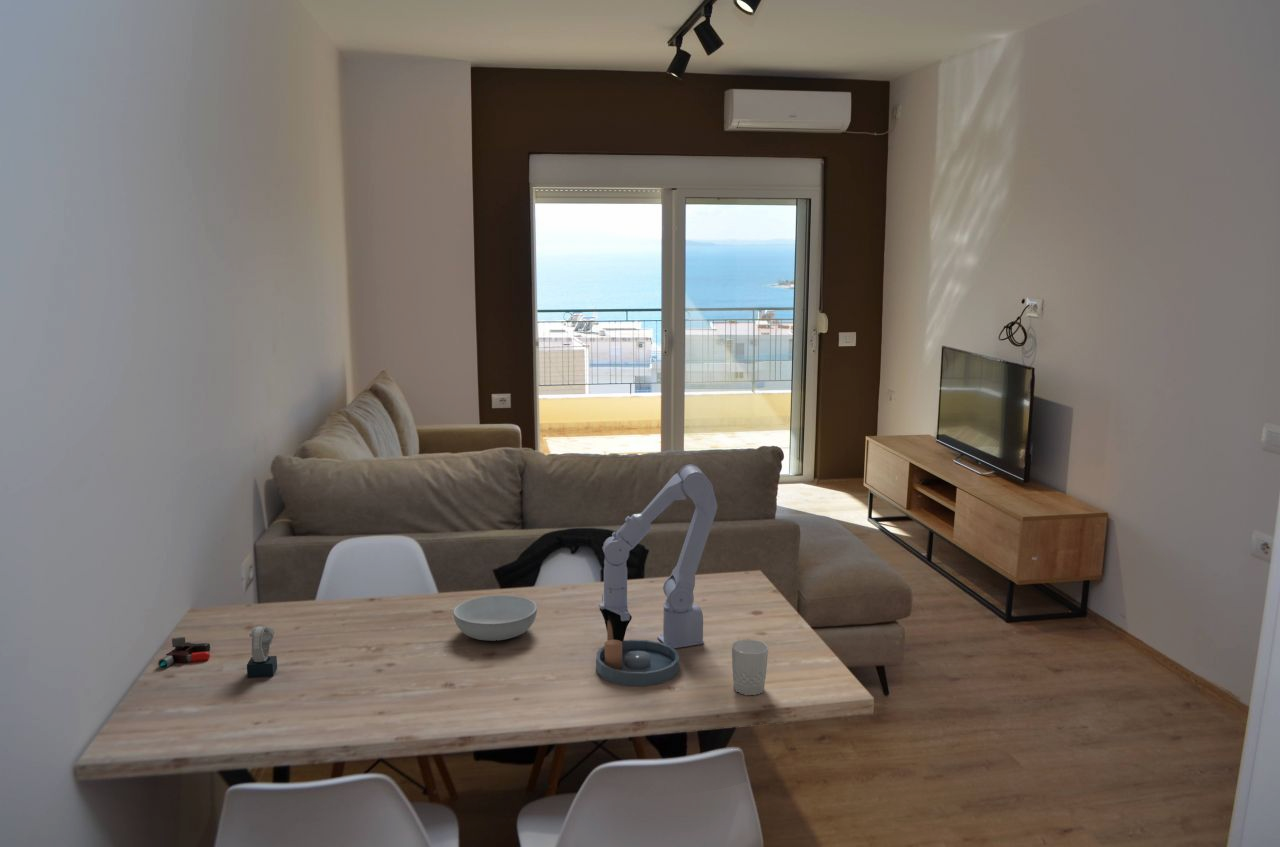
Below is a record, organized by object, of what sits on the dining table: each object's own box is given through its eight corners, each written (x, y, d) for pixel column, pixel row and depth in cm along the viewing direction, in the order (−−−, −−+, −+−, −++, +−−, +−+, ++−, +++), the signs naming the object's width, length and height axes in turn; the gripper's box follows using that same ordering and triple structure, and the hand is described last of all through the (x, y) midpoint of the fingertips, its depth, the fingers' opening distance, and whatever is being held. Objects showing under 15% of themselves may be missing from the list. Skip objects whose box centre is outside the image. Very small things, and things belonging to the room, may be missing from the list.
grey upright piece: (279, 665, 222) (276, 620, 220) (271, 679, 214) (268, 633, 212) (253, 666, 221) (250, 621, 219) (245, 681, 213) (242, 634, 211)
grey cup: (743, 700, 205) (744, 656, 204) (724, 685, 212) (725, 643, 211) (774, 692, 209) (775, 649, 207) (753, 678, 216) (754, 637, 214)
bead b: (620, 640, 237) (620, 617, 236) (625, 646, 234) (625, 622, 233) (605, 642, 236) (605, 619, 235) (610, 648, 232) (610, 625, 231)
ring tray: (659, 647, 233) (659, 635, 233) (691, 678, 216) (692, 665, 215) (585, 658, 226) (585, 646, 226) (612, 691, 209) (612, 678, 208)
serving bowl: (527, 615, 254) (527, 590, 253) (545, 644, 235) (545, 618, 233) (449, 624, 248) (448, 598, 247) (460, 655, 228) (459, 627, 227)
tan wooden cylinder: (618, 663, 221) (618, 638, 220) (624, 669, 218) (624, 645, 217) (602, 665, 220) (602, 641, 219) (608, 672, 216) (608, 647, 215)
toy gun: (153, 670, 219) (151, 650, 219) (185, 650, 231) (183, 631, 230) (192, 673, 218) (191, 653, 217) (222, 652, 230) (221, 633, 229)
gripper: (590, 578, 238) (590, 630, 240) (610, 597, 224) (610, 652, 227) (617, 575, 240) (617, 626, 242) (637, 593, 227) (637, 647, 229)
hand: (615, 638), depth 235 cm, fingers closed on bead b, 4 cm apart
